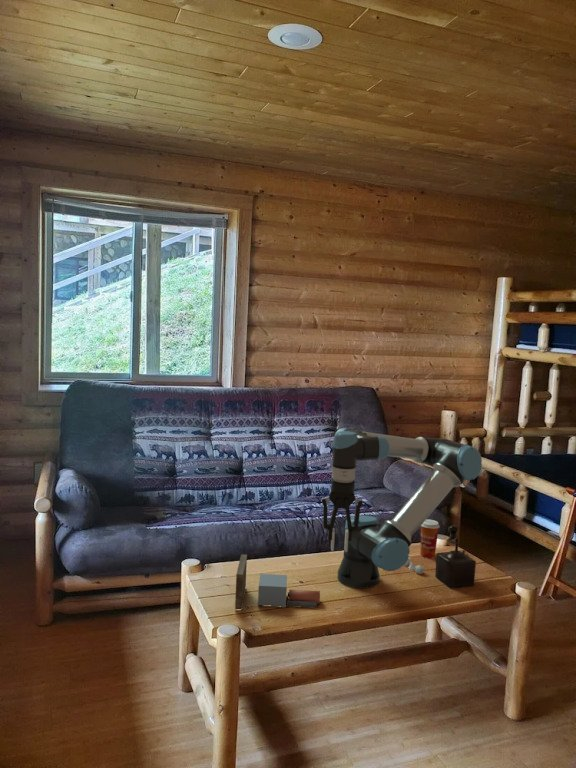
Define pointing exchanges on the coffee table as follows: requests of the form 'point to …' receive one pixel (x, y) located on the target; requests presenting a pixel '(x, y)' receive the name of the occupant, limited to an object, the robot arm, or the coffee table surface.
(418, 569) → the game pieces
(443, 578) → the black joystick
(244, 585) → the wall
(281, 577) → the block
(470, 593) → the coffee table surface
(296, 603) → the rails
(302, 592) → the dowel
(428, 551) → the paper cup
